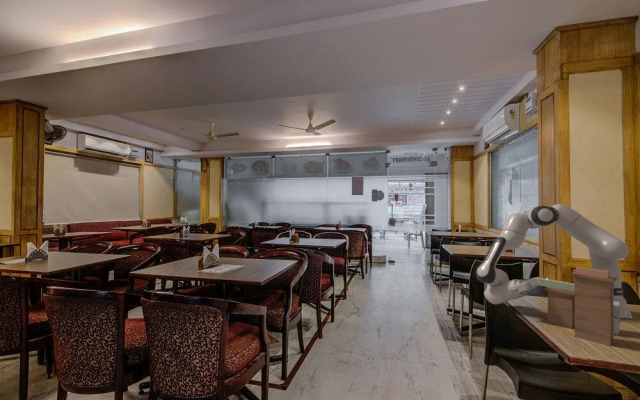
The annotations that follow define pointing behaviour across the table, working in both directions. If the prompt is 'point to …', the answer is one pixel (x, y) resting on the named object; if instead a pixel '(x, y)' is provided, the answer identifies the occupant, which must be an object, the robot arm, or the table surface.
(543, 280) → the sage rod
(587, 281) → the brown wooden tall block
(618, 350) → the table surface
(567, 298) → the low shelf
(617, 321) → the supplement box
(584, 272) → the terracotta rod
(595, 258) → the robot arm
